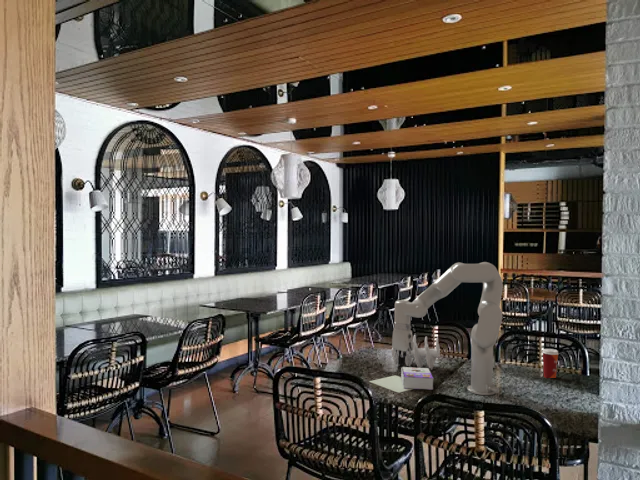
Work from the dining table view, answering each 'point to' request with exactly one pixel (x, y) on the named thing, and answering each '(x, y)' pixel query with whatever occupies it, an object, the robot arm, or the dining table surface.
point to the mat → (391, 383)
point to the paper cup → (550, 362)
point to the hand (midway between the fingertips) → (401, 364)
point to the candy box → (416, 378)
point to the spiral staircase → (420, 354)
